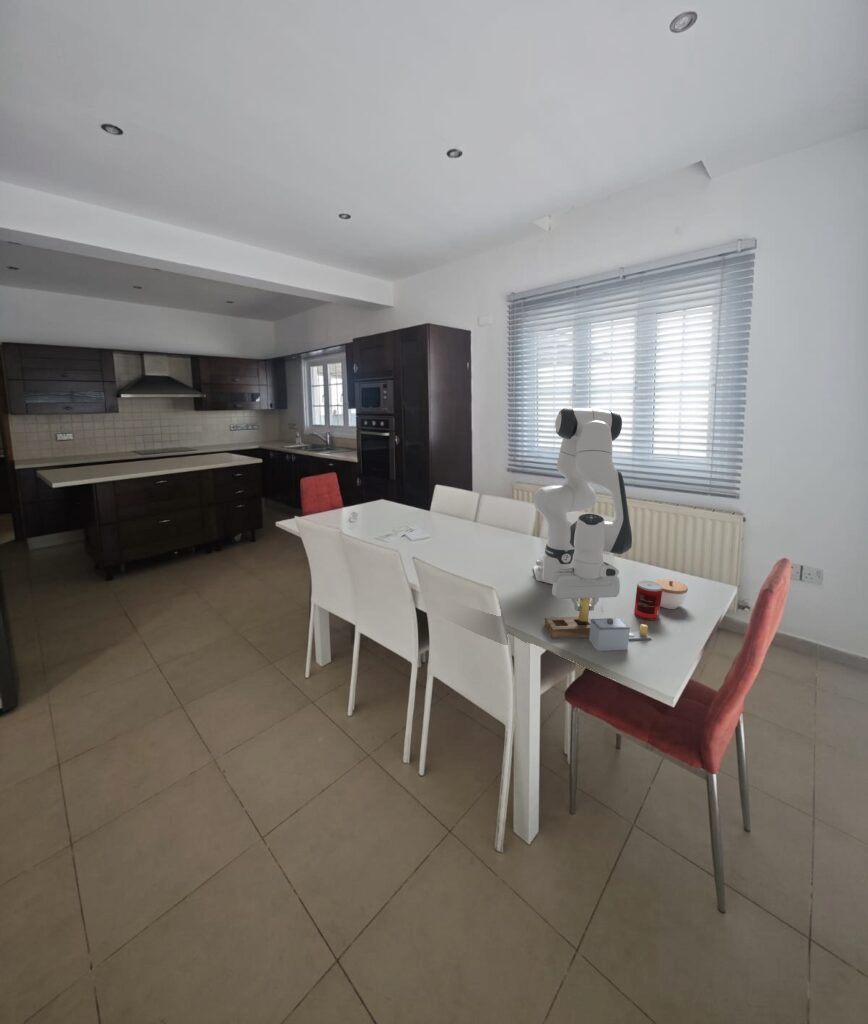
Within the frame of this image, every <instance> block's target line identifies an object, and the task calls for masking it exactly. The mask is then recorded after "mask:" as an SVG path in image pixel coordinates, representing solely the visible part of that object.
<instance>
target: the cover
mask: <svg viewBox="0 0 868 1024" xmlns="http://www.w3.org/2000/svg"><path fill="white" fill-rule="evenodd" d="M590 619H591V623H590V635H589V637H588V641H589V642H590V643H591V645H592V646H593V647H594V649H596V651H597V652H601V651H621V650H622V651H623V650H629V649H628V647H629V632H631V631H630V630H631V627H630V626H629V625H628V624H627V623H626V622H625V621H624V620H623V619H622V618H621V617H614V618H613V617H611V618H609V617H607V618H590Z"/></svg>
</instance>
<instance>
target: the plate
mask: <svg viewBox="0 0 868 1024" xmlns="http://www.w3.org/2000/svg"><path fill="white" fill-rule="evenodd" d="M639 626H640V627H639V631H630V632H629V641H649V640H652V637H651V636H650V635H649V634H648V629H649V628H648V627H649V626H648V625H647V624H643V623H641V624H640V625H639ZM629 641H628V642H629Z"/></svg>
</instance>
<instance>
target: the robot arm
mask: <svg viewBox="0 0 868 1024" xmlns="http://www.w3.org/2000/svg"><path fill="white" fill-rule="evenodd" d="M554 427H555V432H556V434H557V436H559V437H561V438H562V441H561V444H560V449H559V454H558V459H557V464H556V470H557V471H558V474H560V475H561V476H562V477H564V479H565V481H564V484H557V485H546V486H543V487H539V488H538V489H537V490H536V491H535V493H534V495H533V498H532V499H533V506H534V508H535V509H536V510H537V512H539V513H540V514H541V515H542V516H543V517H544V519H545V522H546V526H547V542H546V546H545V548H544V549H545V550H544V552H543V554H542V555H540V556H539V558H538V559H537V560H536V562H535V563H536V564H535V565H534V566H532V571H533V573H534V577H535V580H536V581H538V582H544V583H547V584H550V585H552V587H551V588H552V589H551V593H552V596H554V598H555V599H556V600H571V601H572V603H573V609H574V611H575V612H579V611H581V606H580V603H578V602H579V599H580V598H590V599H591V600H590V603H589V612H593V611H594V610H595V606H596V605H597V604H598V602H599V599H601V598H603V599H604V598H617V597H618V596H619V595H620V591H621V590H620V589H621V588H620V586H621V585H620V584H621V583H620V578H619V574H620V570H619V569H618V568H617V567H615V566H614V565H612V564H611V563H609V562H606V561H604V560H605V559H604V552H605V553H610V554H617V555H623V554H624V553H626V552H628V551H629V550H630V549H632V547H633V546H632V545H633V543H634V534H633V531H632V527H631V522H630V515H629V508H628V502H627V499H628V498H627V494H626V493H627V492H626V488H625V487H626V486H625V482H624V478H623V477H624V476H623V474H622V472H621V471H619V470H617V468H616V467H615V465H614V462H613V442H614V441H615V440H616V439H618V437H619V436H620V435H621V431H622V428H623V420H622V416H621V415H620V413H618V412H616V411H613V410H605V409H600V408H594V407H593V408H592V407H591V408H584V407H582V408H580V407H579V408H573V407H564V408H562V409H560V411H558V414H557V416H556V418H555V423H554ZM590 484H592V485H595V486H597V487H600V488H602V489H604V490H605V491H607V492H608V493H609V494H610V496H611V498H612V499H611V500H612V506H613V513H614V520H613V521H608V520H605V518H604V517H602V516H601V515H600V514H599V515H598V514H596V513H584V514H581V515H579V516H578V517H577V520H576V521H575V522H573V523H572V522H571V521H568V517H567V515H568V513H578V512H583V511H586V510H589V509H592V508H593V507H594V506H595V504H596V501H597V493H596V492H595V489H594V488H593V487H592V486H591V485H590Z"/></svg>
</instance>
